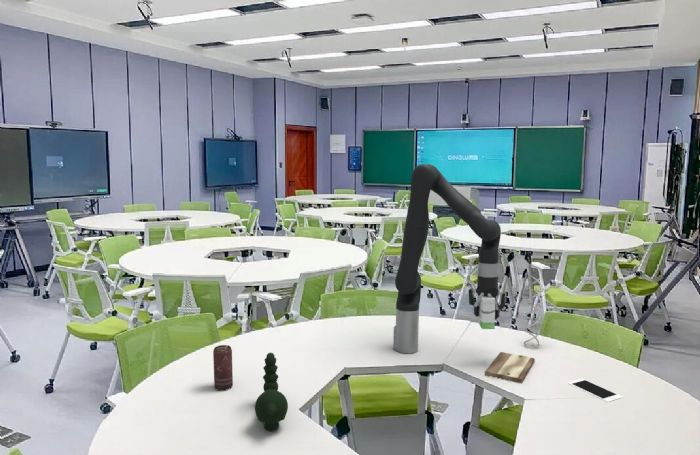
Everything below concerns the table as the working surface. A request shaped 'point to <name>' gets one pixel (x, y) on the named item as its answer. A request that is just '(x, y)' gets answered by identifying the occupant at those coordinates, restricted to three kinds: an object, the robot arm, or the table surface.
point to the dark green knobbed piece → (271, 398)
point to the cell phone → (595, 390)
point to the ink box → (487, 312)
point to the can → (223, 367)
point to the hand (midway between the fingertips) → (486, 317)
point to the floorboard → (510, 367)
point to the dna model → (534, 310)
